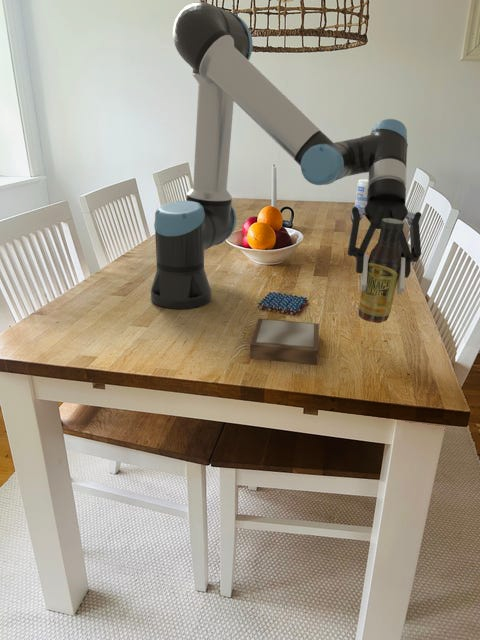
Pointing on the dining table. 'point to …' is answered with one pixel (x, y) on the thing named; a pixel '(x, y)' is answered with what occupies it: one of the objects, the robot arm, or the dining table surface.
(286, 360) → the walnut plinth
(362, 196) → the supplement tub
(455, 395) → the dining table surface
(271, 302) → the woven mat
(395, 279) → the sauce bottle
